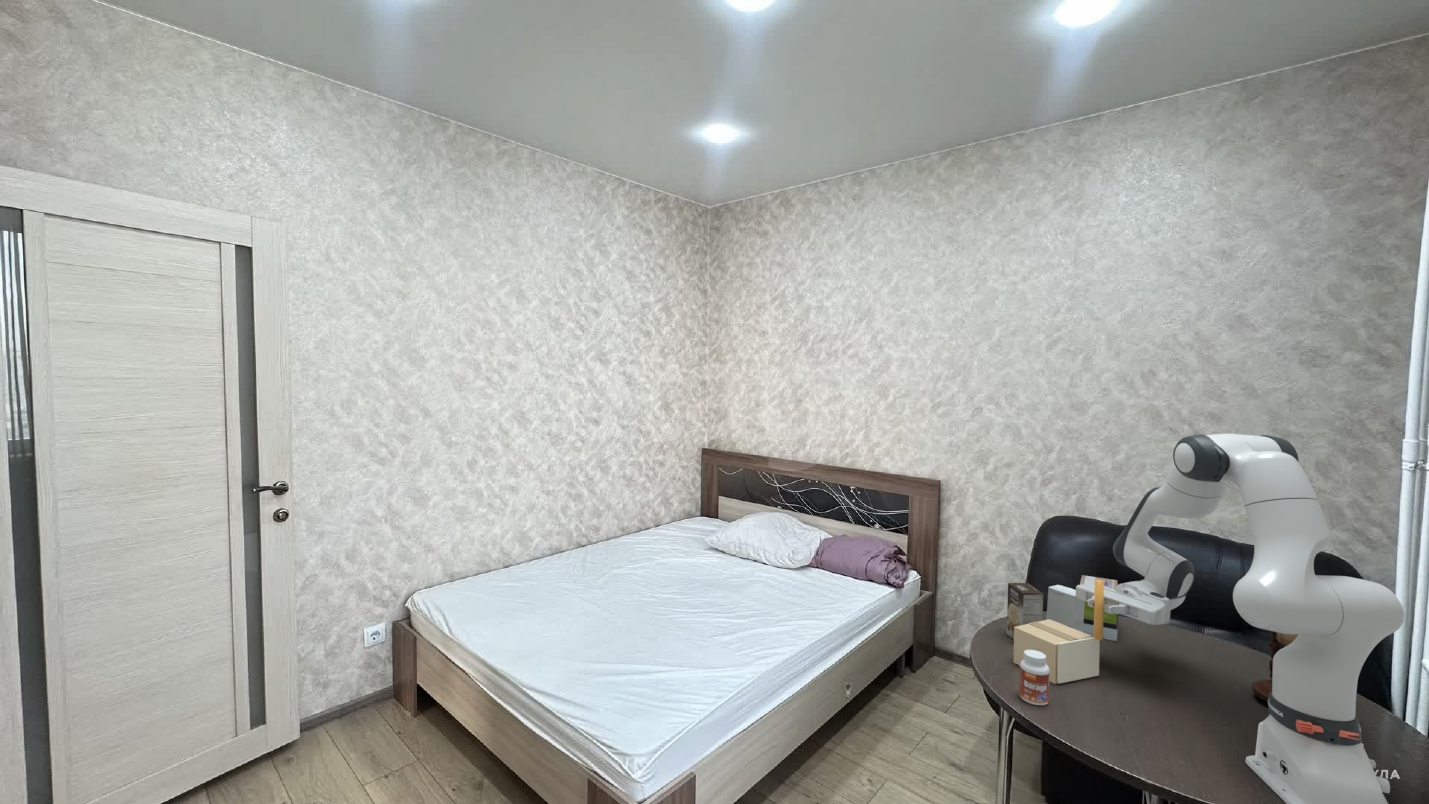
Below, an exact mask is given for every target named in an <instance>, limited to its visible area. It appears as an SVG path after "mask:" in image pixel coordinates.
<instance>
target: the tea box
mask: <svg viewBox="0 0 1429 804" xmlns="http://www.w3.org/2000/svg"><path fill="white" fill-rule="evenodd" d="M1095 579H1099V580H1103V581H1104V587H1108V588H1111V589H1115V588H1116V586H1118V585H1119V583H1118V580H1116V579H1112V578H1111V579H1110V578H1104V577H1097V576H1089V575H1083V574H1082V575H1081V578H1080V581H1079V582H1080V583H1079V585H1083V584H1095ZM1104 610H1105V608H1103V640H1107V641H1114V642H1118V633H1119V631H1118V630H1119V614H1115V613H1114V614H1109V613H1107V612H1105V611H1104ZM1083 633H1086V634H1088V635H1091V636H1092V637H1094V608H1093V607H1090V606H1088V602H1085V606H1084V621H1083Z"/></svg>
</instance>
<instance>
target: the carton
mask: <svg viewBox="0 0 1429 804" xmlns="http://www.w3.org/2000/svg"><path fill="white" fill-rule="evenodd" d="M1090 637H1092V636H1091V635H1088V634H1086V633H1083V632H1081V631H1078V630H1076V629H1073V628H1071V627H1068V626H1065V625H1063V624H1060V623H1058V622H1055V621H1053V620H1050V619H1048V620H1046V619H1043V621H1039V622H1031V623H1028V624H1025V625H1021V626H1016V627H1014V640H1013V664H1014V663H1015V664H1014V665H1016V664H1018V665H1019V666H1018V665H1017V666H1018V667H1020V663H1021V661H1022V660H1024V651H1025V650H1036V651H1039V652H1042V653H1043V654H1045V655H1046V663H1045V664H1046V665H1047V666H1048V667H1049V683H1052V684H1054V685H1056V684H1057V685H1058V683H1057V655H1058V643H1062V642H1068V641H1073V640H1079V639H1085V638H1090Z"/></svg>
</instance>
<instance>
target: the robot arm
mask: <svg viewBox="0 0 1429 804" xmlns="http://www.w3.org/2000/svg"><path fill="white" fill-rule="evenodd" d="M1172 458H1173V459H1172V460H1173V462H1172V464H1171V466H1170V469H1169V470H1168V474H1167V477H1166V480H1165V482H1164V484H1163V485H1161V486H1158V487H1153V488H1152V489H1150V490H1149V491H1147V492H1146V493H1145V495H1144V496H1143V497H1142V499H1141V500H1140V502H1139V504H1138V505H1137V507H1136V508H1135V510H1134V512H1132V513H1133V514H1132V515H1131V517H1130V519H1129V521H1128V522H1127V524H1126V526H1125V528H1124V529H1123V531H1121V532H1122V533H1120V534H1119V536H1118V537H1117V539H1116V540H1115V542H1114V543H1113V544H1112V551H1113V556H1114V558H1115V560H1116V561H1117V562H1118V563H1119V564H1121V565H1123V566H1125V567H1127V568H1128V569H1130V570H1133V571H1134V572H1136V573H1138V574H1139V575H1141V576H1142V577H1144V579H1140V580H1134V581H1127V582H1124V583H1122V582H1121V583H1118V586H1116V588H1115V589H1111V588H1108V587H1104V608H1105V610H1104V611H1105V612H1107V613H1109V614H1114V613H1115V614H1118V615H1121V616H1124V617H1125V616H1126V617H1128V618H1130V619H1133V620H1137V621H1139V622H1142V623H1144V624H1148V625H1152V626H1159V625H1167V624H1169V623H1170V618H1171V611H1172V610H1174V609H1176V608H1177V607H1179V606H1181V604H1183V602H1184V601H1185V599H1186V596H1187V594H1189V592H1190V591H1191V589H1192V588H1193V586H1194V584H1195V580H1196V574H1195V569H1194V566H1193V563H1192V562H1191V561H1190V560H1188V559H1186V558H1185V557H1183V556H1182V555H1180V554H1178V553H1176V552H1174V551H1173V550H1172V549H1169V548H1167V547H1165V546H1163V545H1161V544H1160V543H1158V542H1156V541H1155V540H1153V539H1152V538H1151V536H1150V535H1149V532H1150V530H1151V528H1152V527H1153V524H1154V523H1155V522H1156V520H1157V518H1158V517H1159V515H1160V516H1161V515H1162V516H1169V517H1173V518H1177V519H1188V520H1189V519H1200V518H1204V517H1207V516H1210V515H1211V514H1212V513H1214V512H1215V511H1216V509H1217V508H1218V507H1219V505H1220V503H1221V500H1222V497H1223V496H1224V495H1223V494H1224V492H1225V489H1226V486H1227V485H1226V484H1227V483H1232V484H1235V485H1236V486H1237V487H1238V488H1239V492H1240V494H1241V498H1242V499H1241V500H1242V503H1243V506H1244V509H1245V513H1246V515H1247V519H1248V522H1249V523H1248V524H1249V526H1250V530H1251V534H1252V538H1253V545H1254V550H1253V551H1254V552H1253V559H1252V562H1251V564H1250V565H1251V566H1250V568H1249V570H1248V571H1247V572H1246V574H1245V575H1244V576H1243V577H1242V578H1240V579H1239V580H1238V581H1237V582H1236V584H1235V585H1234V587H1233V591H1232V601H1233V604H1234V607H1235V609H1236V611H1237V613H1238V614H1239V616H1240V617H1241V618H1242V619H1243V620H1244V621H1245V622H1246V623H1248V624H1249V625H1251V626H1252V627H1254V628H1257V629H1261V630H1265V631H1270V632H1271V631H1273V632H1278V633H1283V634H1299V635H1298V636H1297V638H1296V639H1295V640H1294V641H1293V642H1292V643H1291V644H1289V645H1288V646H1286V645H1285V647H1284V648H1282V649H1280V650H1279V651H1278V652H1277V653H1276V654H1275V656H1274V658H1273V676H1272V692H1270V694H1269V699H1268V702H1267V705H1268V707H1267V708H1268V709H1267V711H1268V713H1269V715H1268V716H1267V717H1266V718H1265V719H1263V720H1262V721H1260V722H1259V723H1258V727H1257V736H1256V743H1255V744H1256V745H1255V754H1254V755H1247V756H1246V757H1245V764H1246V765H1247V766H1248V767H1249V768H1250V769H1251V770H1252V771H1253V772H1254V773H1255V774H1256V775H1257V776H1258V777H1259V778H1260V779H1262V781H1263V782H1264V783H1265V784H1266V785H1267V786H1268V787H1270V789H1271V790H1272V791H1273V792H1274V793H1275V794H1276V795H1277V796H1279V797H1280V799H1281V800H1283V802H1284V803H1285V804H1389V802H1388V801H1387V799H1386V797H1385V795H1384V793H1385V794H1390V792H1391V785H1390V782H1389V779H1387V778H1384V777H1382V776H1381V777H1380V776H1377V775H1376V773H1375V770H1374V769H1376V767H1377V763H1376V761H1375V760H1374V759H1372V758H1369V756H1368V754H1367V752H1366V749H1365V747H1364V743H1362V742H1363V739H1362V738H1363V737H1362V734H1361V733H1362V729H1361V725H1360V721H1359V717H1358V716H1357V714H1356V706H1357V692H1358V691H1357V689H1358V680H1359V676H1360V674H1361V671H1362V668H1363V666H1364V664H1365V662H1366V661H1367V658H1368V657H1369V655H1370V654H1371V653H1372V651H1373V650H1374V649H1375V647H1376V646H1377V645H1378V644H1379V643H1380V642H1381V641H1382V640H1384V639H1385V638H1386V637H1388V636H1389V635H1391V634H1394V633H1396V632H1397V631H1398V630H1400V628H1402V625H1403V623H1404V619H1405V612H1404V607H1403V605H1402V603H1401V601H1400V600H1399V598H1398V597H1397V596H1396V595H1395V593H1394V592H1392V590H1391V589H1390V588H1388V587H1386V585H1385V586H1384V585H1383V584H1381V583H1378V582H1375V581H1371V580H1366V579H1362V578H1357V577H1352V576H1346V575H1323V574H1321V575H1319V574H1315V569H1314V568H1315V567H1314V566H1315V565H1314V563H1315V559H1316V555H1317V554H1319V553H1321V552H1323V551H1325V549H1327V548H1328V547H1329V545H1330V544H1331V541H1332V534H1331V531H1330V529H1329V526H1328V523H1327V520H1326V517H1325V515H1324V512H1323V509H1322V506H1321V504H1320V502H1319V499H1318V496H1317V494H1316V491H1315V489H1314V487H1313V485H1312V483H1311V481H1310V479H1309V477H1308V475H1307V474H1306V472H1305V470H1304V469H1303V467H1302V466H1301V464H1300V462H1299V454H1298V451H1297V450H1296V448H1295V447H1294V445H1293V444H1292V443H1291V442H1290V441H1288V440H1287V439H1285V438H1283V437H1279V436H1278V437H1277V436H1273V435H1266V434H1263V435H1261V434H1260V435H1253V434H1243V433H1241V434H1240V433H1239V434H1238V433H1232V432H1231V433H1229V432H1228V433H1214V434H1200V433H1199V434H1194V435H1189V436H1185V437H1182V438H1181V439H1179V440H1178V441H1177V443H1176V445H1175V447H1174V449H1173V454H1172ZM1094 587H1095V584H1083V585H1080V584H1077V585H1076V587H1075V590H1076V598H1077V599H1079V600H1082V601H1085V602H1088V606H1090V607H1093V608H1094Z"/></svg>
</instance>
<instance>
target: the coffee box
mask: <svg viewBox="0 0 1429 804" xmlns="http://www.w3.org/2000/svg"><path fill="white" fill-rule="evenodd" d="M1006 613H1007V615H1006V616H1007V618H1006V619H1007V621H1006V635H1007V636H1008V637H1009V638H1011V639H1012V638H1013V639H1012V640H1013V641H1014V627H1016V626H1021V625H1025V624H1028V623H1031V622H1039V621H1043V620H1044V618H1043V616H1044V614H1043V613H1044V593H1043V592H1042V591H1040V590H1039V589H1037V588H1036V587H1035V586H1033V585H1032V584H1030V583H1029V582H1008V583H1007V612H1006Z"/></svg>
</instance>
